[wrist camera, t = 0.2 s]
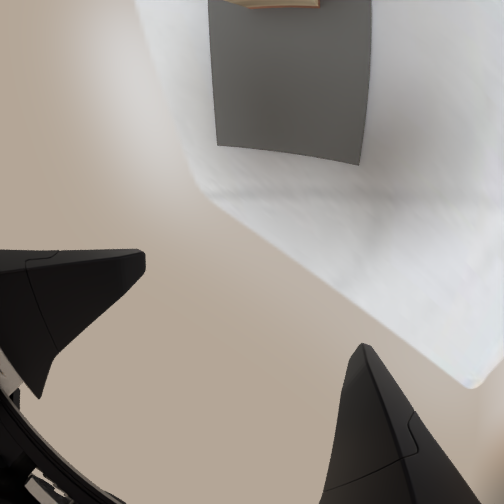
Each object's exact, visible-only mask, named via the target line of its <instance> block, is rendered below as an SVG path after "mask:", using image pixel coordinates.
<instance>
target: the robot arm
mask: <svg viewBox="0 0 504 504" xmlns="http://www.w3.org/2000/svg"><path fill="white" fill-rule="evenodd" d="M145 269H146V261H145V253H144V252H143V251H141V250H139V249H105V250H63V251H59V250H51V251H34V250H0V504H126V503H125V502H124V501H122V500H120V499H119V498H117V497H115V496H114V495H112V494H110V493H108V492H106V491H103V490H102V489H100V488H99V487H98V486H96V485H95V484H94V483H92V482H91V481H90V480H89V479H87V478H86V477H85V476H84V475H82V474H81V473H80V472H79V471H78V470H76V469H75V468H74V467H73V466H72V465H70V464H69V462H67V461H66V460H65V459H64V458H63V457H62V456H61V455H60V454H59V453H57V451H56V450H54V448H53V447H52V446H51V445H50V444H49V443H48V442H47V441H46V440H45V439H44V438H43V437H42V436H41V435H40V434H39V433H38V432H37V431H36V430H35V428H33V426H32V425H31V424H30V423H29V422H28V420H27V419H26V418H25V417H24V416H23V414H22V413H21V412H20V390H19V388H18V387H19V386H20V385H21V384H22V383H23V382H24V383H25V384H26V386H27V387H28V388H29V389H30V390H31V392H32V393H33V394H34V395H35V396H36V397H37V398H38V399H40V398H41V396H42V392H43V389H44V386H45V382H46V379H47V376H48V373H49V370H50V367H51V364H52V362H53V360H54V358H55V357H56V356H57V355H58V354H59V352H61V351H62V350H63V349H64V348H65V347H66V346H67V345H68V344H69V343H70V342H71V341H72V340H74V339H75V338H76V337H77V336H78V335H79V334H80V333H81V332H82V331H83V330H85V328H87V327H88V326H89V325H90V324H91V323H92V322H93V321H95V320H96V319H97V318H98V317H99V316H100V315H101V314H103V313H104V312H105V311H106V310H107V309H108V308H109V307H110V306H112V305H113V304H114V303H115V302H116V301H117V300H119V299H120V298H121V297H122V296H123V295H124V294H125V293H126V292H127V291H128V290H129V289H130V288H131V287H132V286H133V285H134V284H135V283H136V282H137V280H139V279H140V277H141V276H142V275H143V274H144V272H145ZM35 468H37V469H38V470H40V471H41V472H42V473H43V476H44V477H45V478H47V479H48V480H50V481H52V482H53V483H54V484H53V486H54V487H56V488H57V489H59V490H61V491H62V492H63V493H65V494H64V496H66V497H63V496H61V495H59V494H58V493H56V492H55V491H54V489H55V488H54V487H53V486H52V485H50V484H49V483H47V482H46V481H44V480H43V479H40V478H38V477H36V476H35V475H33V474H32V473H31V472H32V471H33V470H34V469H35ZM319 504H481V503H480V501H479V500H478V499H477V497H476V496H475V494H474V493H473V491H472V490H471V488H470V487H469V486H468V484H467V483H466V481H465V480H464V479H463V477H462V476H461V475H460V473H459V472H458V470H457V469H456V468H455V466H454V465H453V463H452V462H451V461H450V459H449V458H448V456H447V455H446V454H445V452H444V451H443V450H442V448H441V447H440V446H439V444H438V443H437V442H436V440H435V439H434V438H433V436H432V435H431V434H430V432H429V431H428V429H427V428H426V427H425V425H424V423H423V422H422V421H421V419H420V417H419V416H418V414H417V413H416V411H414V409H413V407H412V405H411V404H410V402H409V401H408V399H407V398H406V396H405V395H404V394H403V392H402V390H401V389H400V387H399V386H398V384H397V383H396V381H395V380H394V378H393V377H392V375H391V374H390V372H389V371H388V369H387V368H386V367H385V365H384V364H383V362H382V361H381V359H380V358H379V356H378V355H377V353H376V352H375V351H374V349H373V348H372V346H370V345H367V344H364V343H361V344H360V345H359V346H358V348H357V349H356V350H355V352H354V353H353V355H352V356H351V358H350V360H349V363H348V367H347V371H346V375H345V380H344V383H343V388H342V391H341V398H340V404H339V412H338V418H337V425H336V432H335V437H334V443H333V448H332V454H331V459H330V463H329V468H328V473H327V477H326V481H325V485H324V490H323V493H322V497H321V500H320V502H319Z"/></svg>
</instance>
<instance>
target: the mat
mask: <svg viewBox="0 0 504 504" xmlns="http://www.w3.org/2000/svg"><path fill="white" fill-rule="evenodd" d="M208 15H209V35H210V53H211V69H212V84H213V98H214V111H215V123H216V135H217V145H218V146H231V147H242V148H252V149H261V150H270V151H277V152H285V153H292V154H299V155H305V156H311V157H317V158H323V159H328V160H334V161H339V162H344V163H349V164H354V165H358V166H359V161H360V155H361V148H362V141H363V133H364V126H365V117H366V108H367V98H368V86H369V73H370V55H371V0H320V8H299V7H282V8H258V9H249V8H246V7H243V6H240V5H237V4H234V3H231V2H227V1H224V0H208Z"/></svg>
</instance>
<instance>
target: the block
mask: <svg viewBox="0 0 504 504" xmlns="http://www.w3.org/2000/svg"><path fill="white" fill-rule="evenodd" d="M224 1H227V2H231V3H234V4H237V5H240V6H243V7H246V8H249V9H258V8H282V7H299V8H320V0H224Z"/></svg>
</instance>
